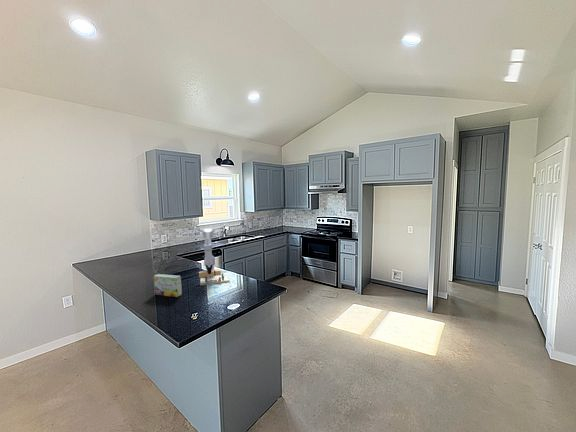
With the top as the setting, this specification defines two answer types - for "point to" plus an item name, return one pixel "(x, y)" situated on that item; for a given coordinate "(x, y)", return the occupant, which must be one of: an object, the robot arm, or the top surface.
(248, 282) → the top surface
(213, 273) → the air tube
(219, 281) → the firebox plate
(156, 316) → the top surface
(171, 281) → the snack box
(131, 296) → the top surface
